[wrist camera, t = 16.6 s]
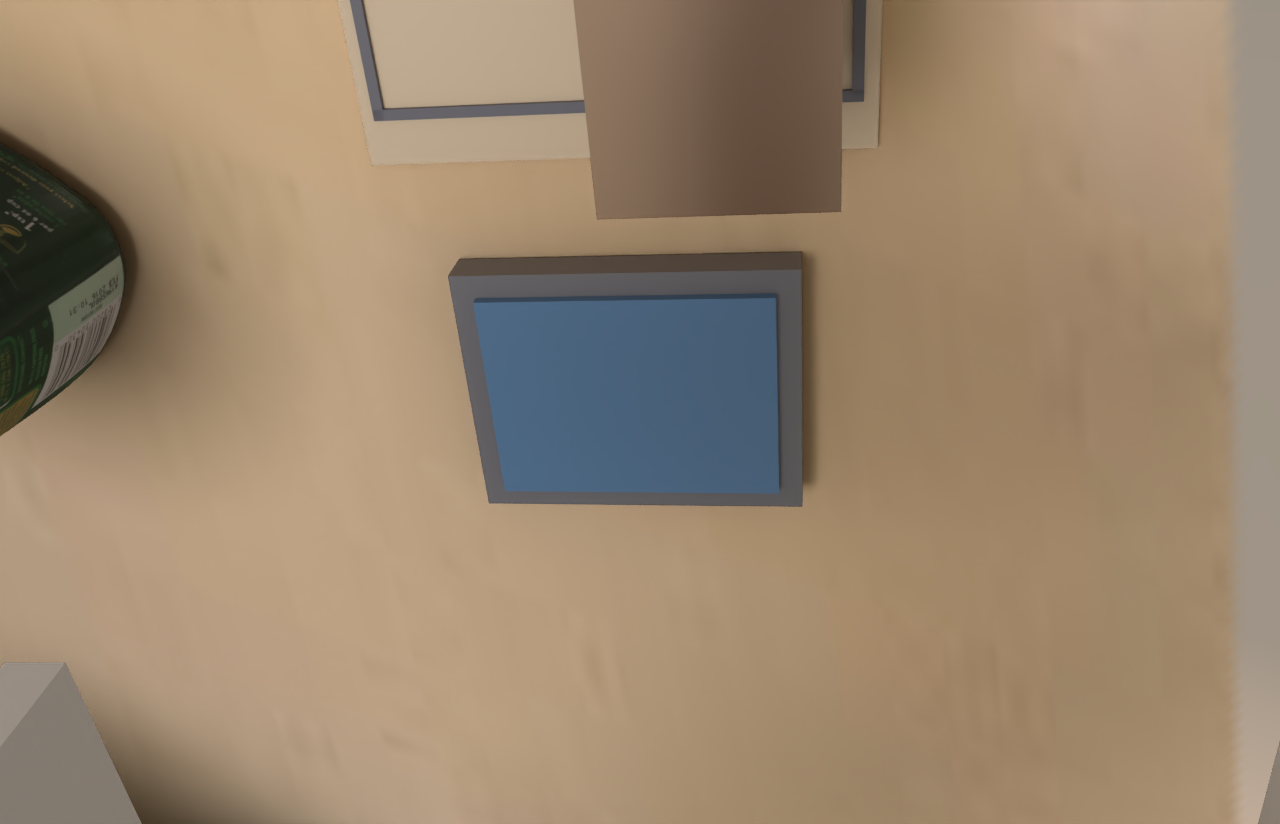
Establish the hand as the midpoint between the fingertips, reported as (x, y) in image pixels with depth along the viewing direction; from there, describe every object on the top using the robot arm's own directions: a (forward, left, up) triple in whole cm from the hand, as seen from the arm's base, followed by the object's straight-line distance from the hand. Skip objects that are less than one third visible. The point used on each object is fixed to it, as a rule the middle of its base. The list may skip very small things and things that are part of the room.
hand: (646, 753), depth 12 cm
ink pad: (-3, -7, -21) cm, 23 cm away
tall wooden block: (0, +4, -21) cm, 22 cm away
